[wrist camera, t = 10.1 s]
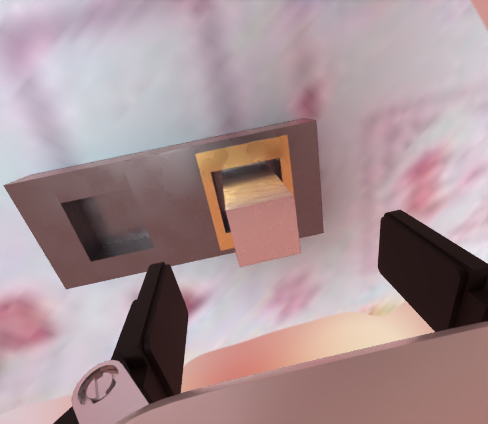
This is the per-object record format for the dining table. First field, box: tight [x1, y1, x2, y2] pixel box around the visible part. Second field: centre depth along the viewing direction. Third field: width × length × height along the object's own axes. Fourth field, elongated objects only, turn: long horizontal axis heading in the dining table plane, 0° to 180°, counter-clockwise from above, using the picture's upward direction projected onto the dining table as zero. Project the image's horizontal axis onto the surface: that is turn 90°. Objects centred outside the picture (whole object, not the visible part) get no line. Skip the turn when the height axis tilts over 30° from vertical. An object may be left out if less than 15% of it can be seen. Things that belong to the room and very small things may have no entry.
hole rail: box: [4, 118, 324, 289], centre depth 23 cm, size 10×24×3 cm, turn 101°
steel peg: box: [222, 162, 301, 267], centre depth 19 cm, size 4×4×9 cm
